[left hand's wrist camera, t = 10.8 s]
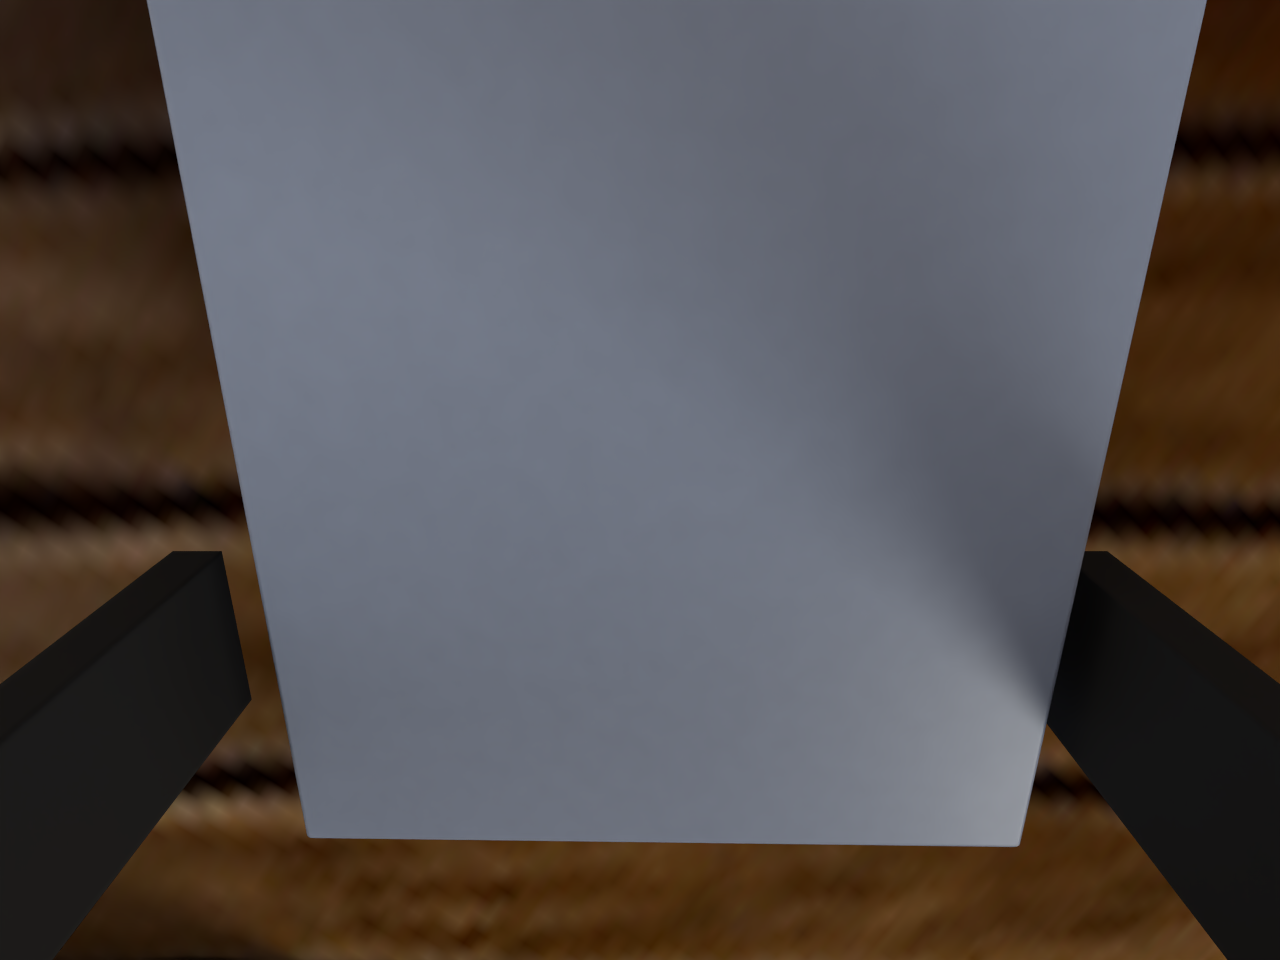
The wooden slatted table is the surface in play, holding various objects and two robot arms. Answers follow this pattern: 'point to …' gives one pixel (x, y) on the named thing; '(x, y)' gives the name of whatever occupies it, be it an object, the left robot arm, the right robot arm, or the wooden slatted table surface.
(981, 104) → the cabinet
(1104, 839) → the wooden slatted table surface
